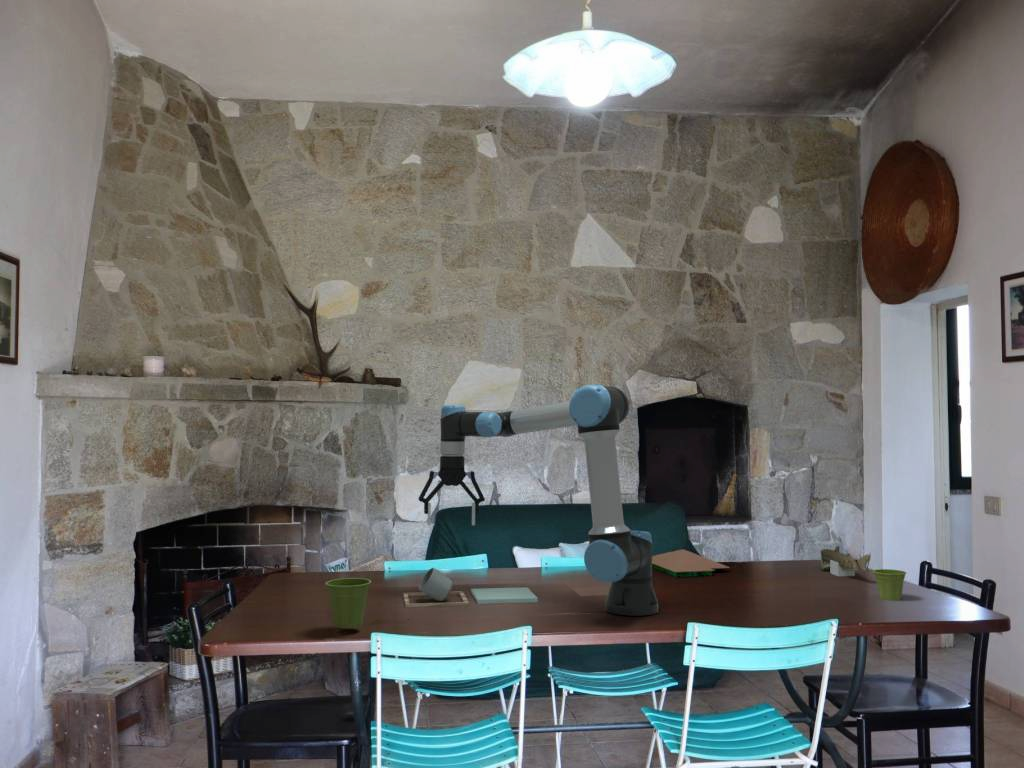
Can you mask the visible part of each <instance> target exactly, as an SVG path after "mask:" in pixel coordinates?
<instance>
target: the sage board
mask: <svg viewBox="0 0 1024 768" xmlns="http://www.w3.org/2000/svg"><path fill="white" fill-rule="evenodd" d="M470 594H471V596H472V597H473V598H474V600H475V602H476V604H477V605H481V604H484V605H486V604H487V605H488V604H519V603H520V604H521V603H523V604H524V603H538V602H539V599H538V597H537V595H535V594H534V593H533V591H532V590H530V588H529V587H527V586H526V587H524V586H523V587H494V588H492V587H491V588H490V587H488V588H487V587H486V588H470Z"/></svg>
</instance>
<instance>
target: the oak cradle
mask: <svg viewBox="0 0 1024 768" xmlns="http://www.w3.org/2000/svg"><path fill="white" fill-rule="evenodd" d="M402 594H403V600H404V606H405V607H404V608H425V607H428V608H431V607H432V608H433V607H460V606H461V607H465V606H466V607H467V606H470V601H469V600H468V598H467V596H466V595H465V593H464V591H461V590H460V591H459V590H458V591H456V590H455V591H451V592H450V594H449V595H448V596H456V595H457V596H459V597H460V599H461V602H460V601H459V602H458V601H456V602H423V603H422V602H420V603H417V602H416V603H413V602H412V603H410V599H409V597H415V596H417V597H418V596H420V597H423V596H425V597H426V596H428V595H427V594H425V593H424V592H422V591H420V592H417V591H416V592H413V591H412V592H403V593H402Z"/></svg>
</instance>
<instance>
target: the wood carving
mask: <svg viewBox="0 0 1024 768" xmlns="http://www.w3.org/2000/svg"><path fill="white" fill-rule="evenodd" d="M840 547H841V546H840V545H836V546H835V549H828V548H827V549H826V548H824V549H821V550H820V555H821V556H820V558H821V559H820V560H821V561H820V562H821V566H820V569H822V570H823V569H825V568H829V570H830V573H829V574H832V575H834V576H837V577H855V576H856V572H858V573H862V574H864V575H865V574H866V575H867V574H869V564H870V562H871V561H870V560H871V557H872V555H871V553H868V554H864V555H863V556H861V557H860V558H858V559H857V558H854V557H852V556H851V553H847V554H845V553H841V552H840Z"/></svg>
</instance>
